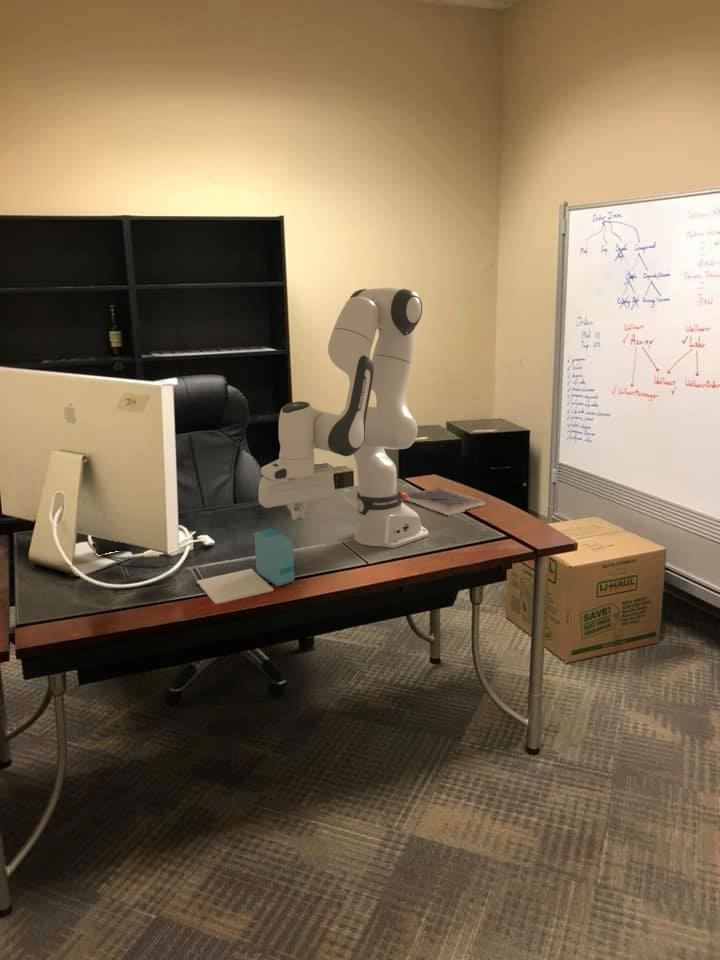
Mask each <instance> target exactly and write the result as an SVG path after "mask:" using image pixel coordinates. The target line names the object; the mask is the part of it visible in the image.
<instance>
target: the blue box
mask: <svg viewBox="0 0 720 960" xmlns="http://www.w3.org/2000/svg"><path fill="white" fill-rule="evenodd" d="M254 549H255V550H254V551H255V567H256V573H257V574H258V575H259V576H260V575H261V576H260V577H262V576H263V577H262V578H264V577H265V578H266V580H267V579H268V580H269V581H268V580H267V581H268V582H270V581H271V582H270V583H272V584H273V585H275V586H277V587H281V586H283V585H287V584H290V583H293V582H294V581H295V561H294V560H295V559H294V543H293V540H292V539H291V537H288V536H287V535H284V534H282V533H281V532H279V531H277V530H275V529H273V528H267V529H264V530H260V531H256V532H255V533H254ZM265 578H264V579H265Z"/></svg>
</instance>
